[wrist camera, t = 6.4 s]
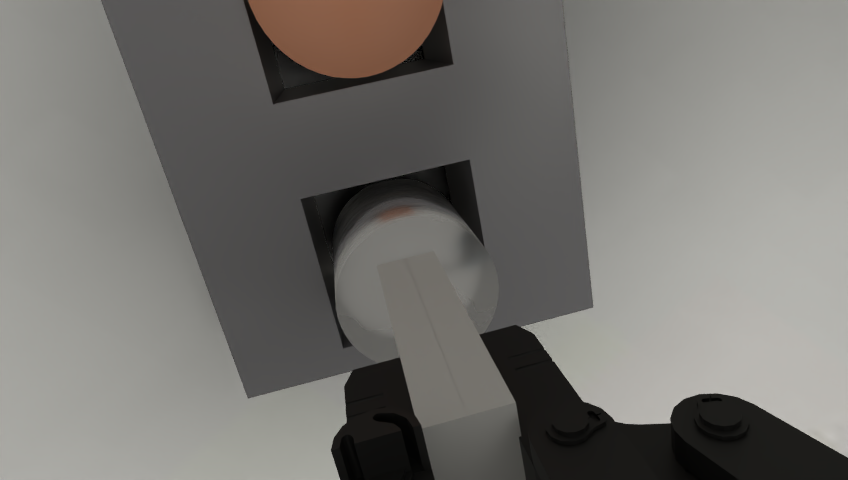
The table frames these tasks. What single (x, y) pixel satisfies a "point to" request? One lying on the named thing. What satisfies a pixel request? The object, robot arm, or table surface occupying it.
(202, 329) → the table surface
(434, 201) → the steel button
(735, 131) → the table surface
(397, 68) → the button console
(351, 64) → the terracotta button
